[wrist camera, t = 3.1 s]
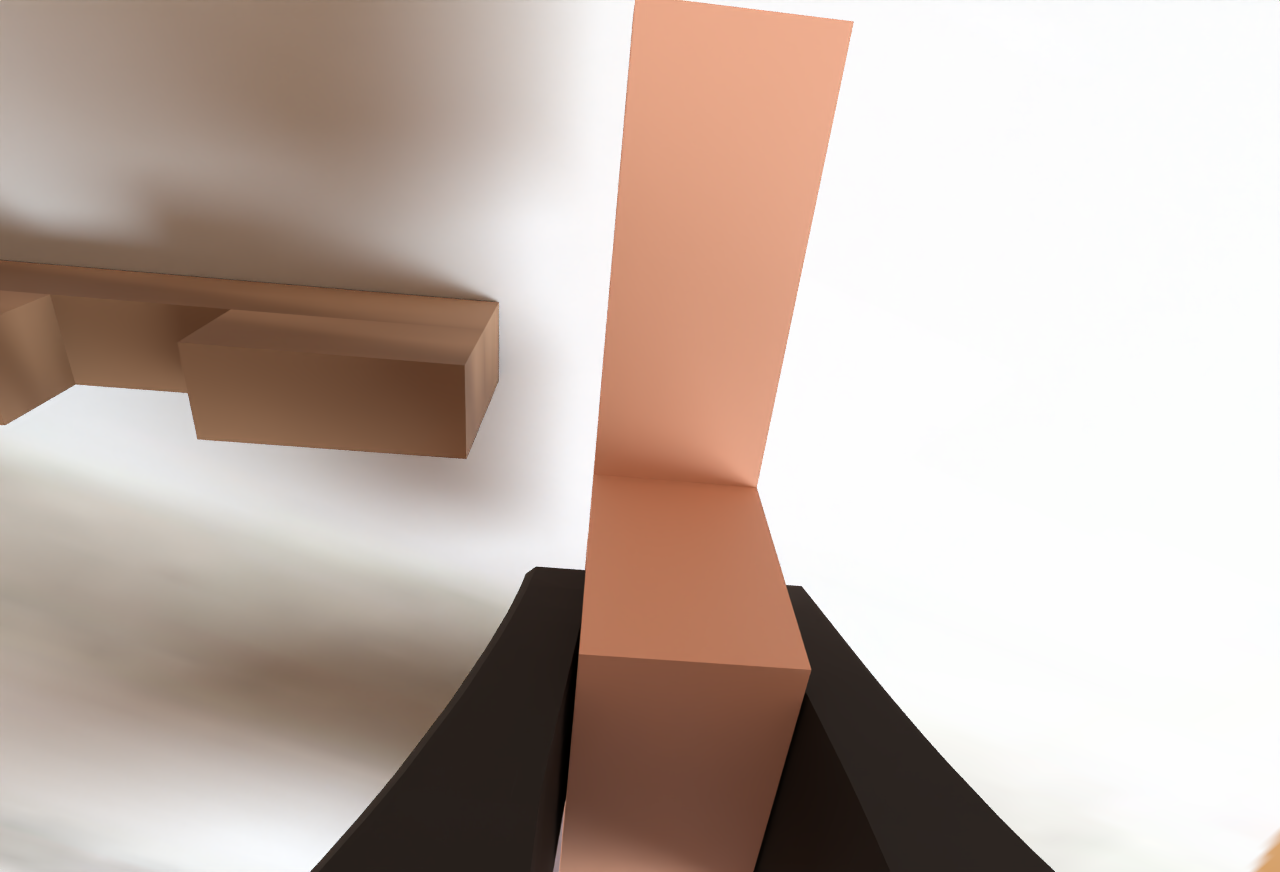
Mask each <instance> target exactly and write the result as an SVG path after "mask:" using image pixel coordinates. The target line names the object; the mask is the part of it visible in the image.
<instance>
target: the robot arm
mask: <svg viewBox="0 0 1280 872" xmlns="http://www.w3.org/2000/svg"><path fill="white" fill-rule="evenodd" d="M585 573H586V570H575V569H561V568H548V567H535V568H533V569H532V570H531V571H529V572H528V573H526V575H525V577H524V580H523V582H522V585H521V587H520V589H519V591H518V593H517V595H516V597H515V599H514V601H513V603H512V605H511V607H510V609H509V610H508V612H507V614H506V616H505V618H504V619H503V621H502V623H501V624H500V626H499V628H498V629H497V631H496V633H495V634H494V636H493V638H492V639H491V641H490V643H489V644H488V646H487V647H486V649H485V651H484V652H483V654H482V655H481V657H480V658H479V660H478V661H477V663H476V664H475V666H474V667H473V668H472V670H471V671H470V673H469V674H468V676H467V677H466V679H465V680H464V682H463V683H462V685H461V686H460V688H459V689H458V691H457V692H456V694H455V695H454V697H453V698H452V700H451V701H450V702H449V704H448V705H447V707H446V708H445V709H444V711H443V712H442V713H441V715H440V716H439V717H438V719H437V720H436V721H435V722H434V724H433V725H432V726H431V728H430V729H429V730H428V732H427V733H426V734H425V736H424V737H423V738H422V740H421V741H420V742H419V743H418V745H417V746H416V747H415V749H414V750H413V751H412V753H411V754H410V755H409V757H408V758H407V759H406V760H405V762H404V763H403V764H402V766H401V767H400V768H399V770H398V771H397V772H396V773H395V775H394V776H393V777H392V778H391V779H390V781H389V782H388V783H387V784H386V786H385V787H384V788H383V789H382V790H381V792H380V793H379V794H378V795H377V796H376V798H375V799H374V800H373V801H372V802H371V804H370V805H369V806H368V807H367V808H366V809H365V811H364V812H363V813H362V814H361V815H360V816H359V818H358V819H357V820H356V821H355V822H354V823H353V825H352V826H351V827H350V828H349V829H348V830H347V831H346V832H345V834H344V835H343V836H342V837H341V838H340V839H339V840H338V841H337V843H336V844H335V845H334V846H333V847H332V848H331V849H330V850H329V852H328V853H327V854H326V855H325V856H324V857H323V858H322V860H321V861H320V862H319V863H318V864H317V865H316V866H315V867H314V868H313V869H312V870H311V872H559V865H560V854H561V842H562V830H563V818H564V807H565V801H566V793H567V781H568V770H569V759H570V747H571V736H572V725H573V713H574V702H575V690H576V679H577V668H578V656H579V645H580V634H581V622H582V610H583V598H584V585H585ZM786 587H787V590H788V594H789V597H790V600H791V604H792V607H793V610H794V614H795V617H796V620H797V624H798V627H799V630H800V634H801V637H802V640H803V644H804V647H805V650H806V654H807V657H808V660H809V664H810V667H811V673H810V676H809V680H808V683H807V687H806V690H805V694H804V697H803V701H802V704H801V708H800V711H799V715H798V718H797V722H796V725H795V729H794V732H793V736H792V739H791V743H790V746H789V749H788V753H787V756H786V760H785V763H784V767H783V770H782V774H781V777H780V781H779V784H778V788H777V791H776V795H775V798H774V802H773V805H772V809H771V812H770V816H769V819H768V823H767V826H766V830H765V833H764V836H763V840H762V843H761V847H760V850H759V854H758V857H757V861H756V864H755V868H754V871H753V872H1055V871H1054V870H1053V869H1052V868H1051V867H1050V866H1049V865H1047V864H1046V863H1045V862H1044V861H1043V860H1042V859H1041V858H1040V857H1039V856H1038V855H1037V854H1036V853H1035V852H1034V851H1033V850H1032V849H1031V848H1030V847H1029V846H1028V845H1027V844H1026V843H1025V842H1024V841H1023V840H1022V839H1021V838H1020V837H1019V836H1018V835H1017V834H1016V833H1015V832H1014V831H1013V830H1012V829H1011V828H1010V827H1009V826H1008V825H1007V824H1006V823H1005V822H1004V821H1003V820H1002V819H1001V818H1000V817H999V816H998V815H997V814H996V813H995V812H994V811H993V810H992V809H991V808H990V807H989V806H988V805H987V804H986V803H985V802H984V801H983V799H982V798H981V797H980V796H979V795H978V794H977V793H976V792H975V791H974V790H973V789H972V788H971V787H970V786H969V785H968V784H967V782H966V781H965V780H964V779H963V778H962V777H961V776H960V775H959V774H958V773H957V772H956V771H955V770H954V769H953V768H952V767H951V766H950V764H949V763H948V762H947V761H946V760H945V759H944V758H943V757H942V756H941V755H940V753H939V752H938V751H937V750H936V749H935V748H934V747H933V746H932V744H931V743H930V742H929V741H928V740H927V739H926V738H925V737H924V735H923V734H922V733H921V732H920V731H919V730H918V728H917V727H916V726H915V725H914V724H913V723H912V721H911V720H910V719H909V718H908V717H907V716H906V714H905V713H904V712H903V711H902V710H901V709H900V707H899V706H898V705H897V704H896V703H895V702H894V700H893V699H892V698H891V697H890V696H889V694H888V693H887V692H886V691H885V690H884V688H883V687H882V686H881V685H880V684H879V682H878V681H877V680H876V679H875V677H874V676H873V675H872V674H871V673H870V671H869V670H868V669H867V668H866V666H865V665H864V664H863V663H862V661H861V660H860V659H859V658H858V656H857V655H856V654H855V653H854V651H853V650H852V649H851V648H850V646H849V645H848V644H847V643H846V641H845V640H844V639H843V638H842V636H841V635H840V634H839V633H838V631H837V630H836V629H835V627H834V626H833V625H832V624H831V622H830V621H829V620H828V619H827V617H826V616H825V615H824V614H823V612H822V611H821V610H820V609H819V607H818V606H817V605H816V604H815V602H814V601H813V600H812V599H811V597H810V596H809V595H808V594H807V592H806V591H805V590H804V589H803V587H802V586H791V585H786Z"/></svg>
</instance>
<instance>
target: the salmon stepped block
mask: <svg viewBox="0 0 1280 872" xmlns="http://www.w3.org/2000/svg"><path fill="white" fill-rule="evenodd" d="M852 27H853V21H845V20H836V19H828V18H820V17H812V16H804V15H796V14H788V13H780V12H772V11H764V10H755V9H747V8H739V7H731V6H723V5H715V4H707V3H699V2H691V1H683V0H635V6H634V14H633V24H632V36H631V47H630V59H629V70H628V82H627V93H626V105H625V116H624V128H623V139H622V151H621V162H620V174H619V185H618V196H617V208H616V219H615V231H614V242H613V254H612V265H611V277H610V288H609V300H608V311H607V323H606V334H605V346H604V357H603V369H602V381H601V393H600V405H599V417H598V429H597V441H596V452H595V463H594V475H593V486H592V498H591V509H590V521H589V532H588V541H587V552H586V564H585V570H586V573H585V585H584V598H583V610H582V622H581V634H580V645H579V656H578V668H577V679H576V690H575V702H574V713H573V725H572V736H571V747H570V759H569V770H568V781H567V793H566V801H565V807H564V818H563V830H562V842H561V854H560V865H559V872H753V871H754V868H755V864H756V861H757V857H758V854H759V850H760V847H761V843H762V840H763V836H764V833H765V830H766V826H767V823H768V819H769V816H770V812H771V809H772V805H773V802H774V798H775V795H776V791H777V788H778V784H779V781H780V777H781V774H782V770H783V767H784V763H785V760H786V756H787V753H788V749H789V746H790V743H791V739H792V736H793V732H794V729H795V725H796V722H797V718H798V715H799V711H800V708H801V704H802V701H803V697H804V694H805V690H806V687H807V683H808V680H809V676H810V673H811V667H810V664H809V660H808V657H807V654H806V650H805V647H804V644H803V640H802V637H801V634H800V630H799V627H798V624H797V620H796V617H795V614H794V610H793V607H792V604H791V600H790V597H789V594H788V590H787V587H786V584H785V580H784V577H783V574H782V571H781V567H780V564H779V561H778V557H777V554H776V551H775V547H774V544H773V541H772V537H771V534H770V531H769V527H768V524H767V521H766V517H765V514H764V511H763V507H762V504H761V501H760V497H759V494H758V491H757V483H758V478H759V474H760V469H761V464H762V459H763V454H764V450H765V445H766V440H767V435H768V430H769V426H770V421H771V416H772V411H773V406H774V402H775V397H776V392H777V387H778V382H779V378H780V373H781V368H782V363H783V358H784V354H785V349H786V344H787V339H788V334H789V330H790V325H791V320H792V315H793V310H794V306H795V301H796V296H797V291H798V286H799V282H800V277H801V272H802V267H803V262H804V258H805V253H806V248H807V243H808V238H809V234H810V229H811V224H812V219H813V214H814V210H815V205H816V200H817V195H818V190H819V186H820V181H821V176H822V171H823V166H824V162H825V157H826V152H827V147H828V142H829V138H830V133H831V128H832V123H833V118H834V114H835V109H836V104H837V99H838V94H839V90H840V85H841V80H842V75H843V70H844V66H845V61H846V56H847V51H848V46H849V42H850V37H851V32H852Z"/></svg>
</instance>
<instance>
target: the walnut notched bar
mask: <svg viewBox="0 0 1280 872" xmlns="http://www.w3.org/2000/svg"><path fill="white" fill-rule="evenodd" d="M498 381H499V302H488V301H476V300H465V299H453V298H441V297H429V296H417V295H405V294H393V293H382V292H370V291H358V290H346V289H334V288H322V287H311V286H299V285H287V284H275V283H263V282H251V281H240V280H228V279H216V278H204V277H192V276H180V275H169V274H157V273H145V272H133V271H121V270H109V269H98V268H86V267H74V266H62V265H50V264H38V263H26V262H15V261H3V260H0V425H6V424H8V423H10V422H12V421H13V420H15V419H17V418H18V417H20V416H22V415H24V414H25V413H27V412H29V411H31V410H32V409H34V408H36V407H37V406H39V405H41V404H43V403H44V402H46V401H48V400H49V399H51V398H53V397H55V396H56V395H58V394H60V393H62V392H63V391H65V390H67V389H68V388H70V387H72V386H74V385H75V384H77V385H90V386H103V387H117V388H130V389H143V390H156V391H169V392H182V393H188V396H189V401H190V406H191V410H192V415H193V420H194V425H195V429H196V434H197V439H201V440H214V441H228V442H242V443H256V444H269V445H283V446H297V447H310V448H324V449H338V450H352V451H365V452H379V453H393V454H407V455H420V456H434V457H448V458H462V459H467V456H468V454H469V452H470V449H471V447H472V444H473V442H474V439H475V437H476V434H477V432H478V430H479V427H480V425H481V422H482V420H483V417H484V415H485V413H486V410H487V408H488V405H489V403H490V400H491V398H492V396H493V393H494V391H495V388H496V386H497V383H498Z"/></svg>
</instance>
